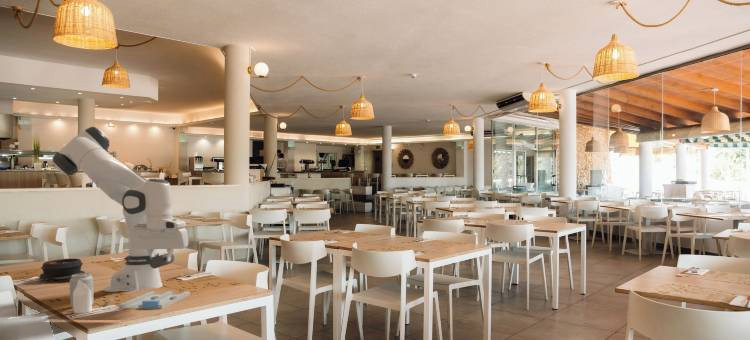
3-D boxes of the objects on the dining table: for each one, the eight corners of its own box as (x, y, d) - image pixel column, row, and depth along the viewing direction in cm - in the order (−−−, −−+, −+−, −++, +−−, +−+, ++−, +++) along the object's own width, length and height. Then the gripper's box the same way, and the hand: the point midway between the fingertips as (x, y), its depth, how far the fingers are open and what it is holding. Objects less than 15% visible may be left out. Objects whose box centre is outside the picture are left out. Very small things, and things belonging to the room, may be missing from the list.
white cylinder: (95, 278, 180) (80, 281, 175) (96, 312, 180) (81, 316, 175) (82, 277, 182) (68, 280, 177) (83, 311, 182) (69, 315, 177)
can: (76, 304, 192) (75, 272, 192) (97, 303, 192) (96, 271, 192) (66, 310, 184) (65, 276, 184) (88, 309, 185) (87, 275, 185)
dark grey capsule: (158, 269, 183) (161, 259, 183) (148, 266, 184) (151, 255, 184) (172, 264, 193) (175, 254, 193) (163, 261, 194) (166, 251, 194)
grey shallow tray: (119, 310, 181) (119, 301, 181) (151, 296, 201) (150, 288, 201) (162, 311, 179) (161, 301, 179) (189, 297, 199) (189, 288, 199)
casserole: (29, 279, 243) (28, 262, 243) (71, 272, 258) (71, 256, 258) (52, 285, 228) (52, 266, 228) (95, 277, 243) (95, 260, 243)
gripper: (127, 224, 186) (129, 263, 186) (181, 223, 183) (182, 262, 183) (138, 222, 192) (139, 259, 192) (189, 221, 189) (191, 259, 189)
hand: (160, 261), depth 187 cm, fingers closed on dark grey capsule, 4 cm apart
